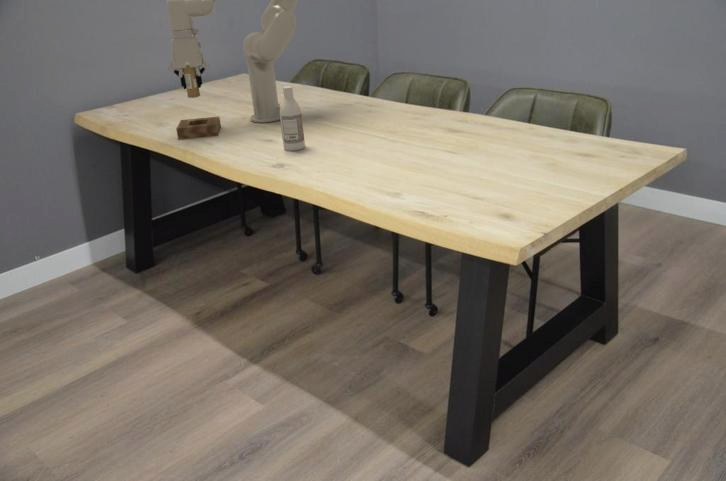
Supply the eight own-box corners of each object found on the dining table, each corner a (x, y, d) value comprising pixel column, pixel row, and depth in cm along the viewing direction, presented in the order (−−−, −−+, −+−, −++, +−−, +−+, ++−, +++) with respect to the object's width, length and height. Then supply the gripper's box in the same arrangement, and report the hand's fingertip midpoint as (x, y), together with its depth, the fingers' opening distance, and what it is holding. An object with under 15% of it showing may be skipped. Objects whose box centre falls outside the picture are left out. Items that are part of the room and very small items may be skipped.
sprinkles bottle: (202, 96, 254) (196, 57, 249) (190, 98, 252) (183, 59, 247) (197, 94, 258) (191, 56, 253) (185, 96, 256) (178, 58, 250)
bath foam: (307, 149, 233) (301, 87, 225) (287, 152, 231) (279, 90, 223) (301, 143, 239) (295, 83, 231) (281, 147, 237) (274, 86, 229)
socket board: (220, 127, 267) (219, 116, 265) (218, 135, 256) (216, 124, 254) (182, 130, 266) (180, 120, 264) (178, 139, 255) (176, 128, 253)
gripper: (209, 30, 250) (217, 83, 258) (160, 35, 249) (170, 87, 257) (207, 33, 243) (215, 87, 251) (156, 38, 243) (166, 92, 250)
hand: (192, 87), depth 254 cm, fingers closed on sprinkles bottle, 4 cm apart
